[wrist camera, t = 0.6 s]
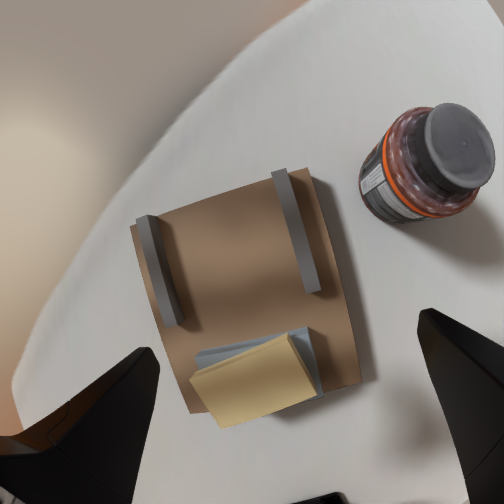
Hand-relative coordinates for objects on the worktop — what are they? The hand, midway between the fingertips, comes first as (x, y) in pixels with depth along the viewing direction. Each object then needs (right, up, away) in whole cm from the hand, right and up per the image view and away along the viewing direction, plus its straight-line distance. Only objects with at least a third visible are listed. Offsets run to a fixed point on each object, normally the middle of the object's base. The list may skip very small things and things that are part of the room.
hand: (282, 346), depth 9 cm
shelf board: (-1, -1, +14) cm, 14 cm away
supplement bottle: (+10, +8, +12) cm, 17 cm away
